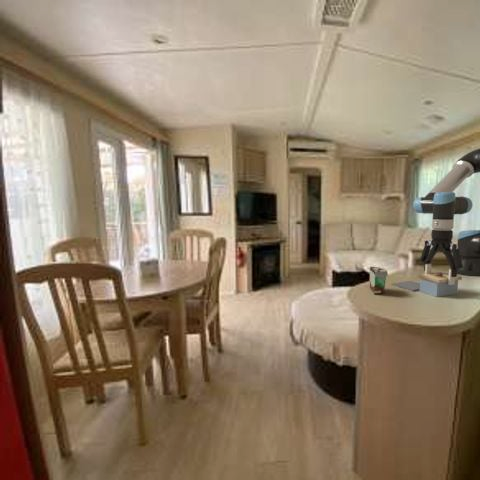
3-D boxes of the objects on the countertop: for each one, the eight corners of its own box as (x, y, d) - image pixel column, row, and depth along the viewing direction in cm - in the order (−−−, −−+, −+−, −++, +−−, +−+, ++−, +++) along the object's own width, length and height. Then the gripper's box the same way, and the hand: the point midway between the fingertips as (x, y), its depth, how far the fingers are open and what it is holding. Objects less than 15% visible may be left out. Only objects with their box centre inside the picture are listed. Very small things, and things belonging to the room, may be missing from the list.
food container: (390, 296, 131) (391, 272, 129) (374, 295, 132) (375, 272, 131) (383, 288, 143) (384, 266, 141) (368, 287, 144) (369, 266, 143)
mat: (410, 282, 153) (410, 280, 153) (433, 288, 141) (433, 286, 141) (391, 284, 148) (391, 283, 148) (413, 291, 137) (413, 289, 137)
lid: (439, 274, 141) (439, 269, 141) (461, 279, 132) (461, 274, 132) (417, 277, 137) (417, 272, 136) (439, 282, 127) (439, 277, 127)
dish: (439, 288, 141) (440, 275, 140) (457, 293, 133) (458, 279, 133) (419, 291, 137) (420, 278, 136) (436, 296, 129) (437, 282, 128)
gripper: (412, 227, 141) (409, 276, 144) (463, 232, 120) (459, 289, 123) (424, 227, 143) (422, 274, 146) (476, 231, 122) (472, 287, 125)
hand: (438, 281), depth 134 cm, fingers closed on lid, 10 cm apart
